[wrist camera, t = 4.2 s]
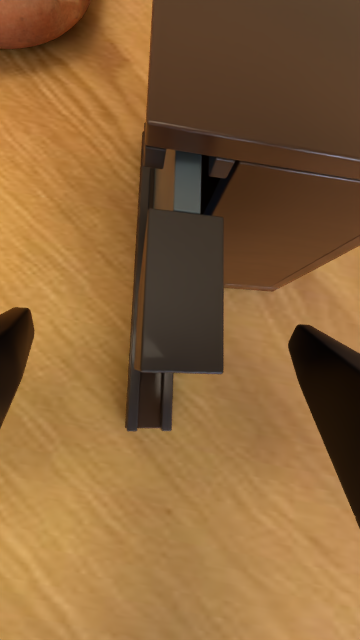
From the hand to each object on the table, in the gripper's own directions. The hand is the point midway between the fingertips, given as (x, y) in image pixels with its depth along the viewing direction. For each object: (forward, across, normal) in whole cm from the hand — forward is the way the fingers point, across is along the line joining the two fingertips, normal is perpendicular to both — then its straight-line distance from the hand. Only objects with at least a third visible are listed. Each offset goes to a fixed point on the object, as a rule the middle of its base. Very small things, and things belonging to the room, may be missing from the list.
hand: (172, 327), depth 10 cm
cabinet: (+10, -4, +3) cm, 12 cm away
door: (+11, 0, +1) cm, 11 cm away
